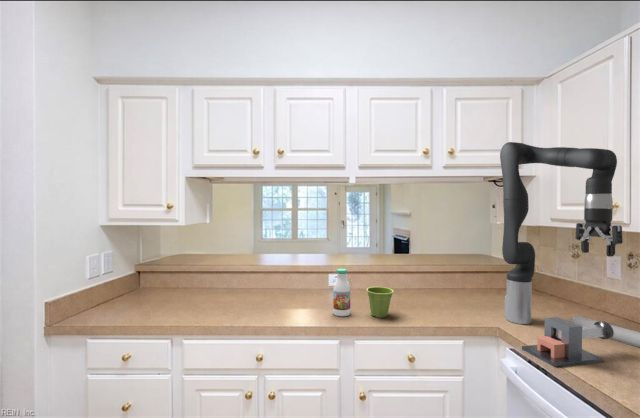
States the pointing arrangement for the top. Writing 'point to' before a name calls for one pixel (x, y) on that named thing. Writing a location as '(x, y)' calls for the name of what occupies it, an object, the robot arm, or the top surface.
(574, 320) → the tube
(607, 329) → the shaft
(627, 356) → the top surface
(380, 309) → the plant pot
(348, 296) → the milk bottle
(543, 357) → the bearing block
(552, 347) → the block
